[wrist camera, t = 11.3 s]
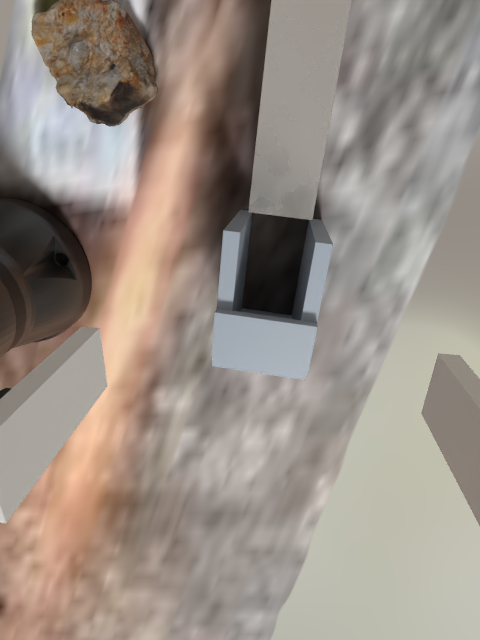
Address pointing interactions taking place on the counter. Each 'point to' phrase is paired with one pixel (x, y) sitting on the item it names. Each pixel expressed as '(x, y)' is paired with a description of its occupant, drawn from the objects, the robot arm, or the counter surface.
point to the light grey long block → (296, 104)
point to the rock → (96, 58)
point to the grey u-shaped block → (266, 327)
